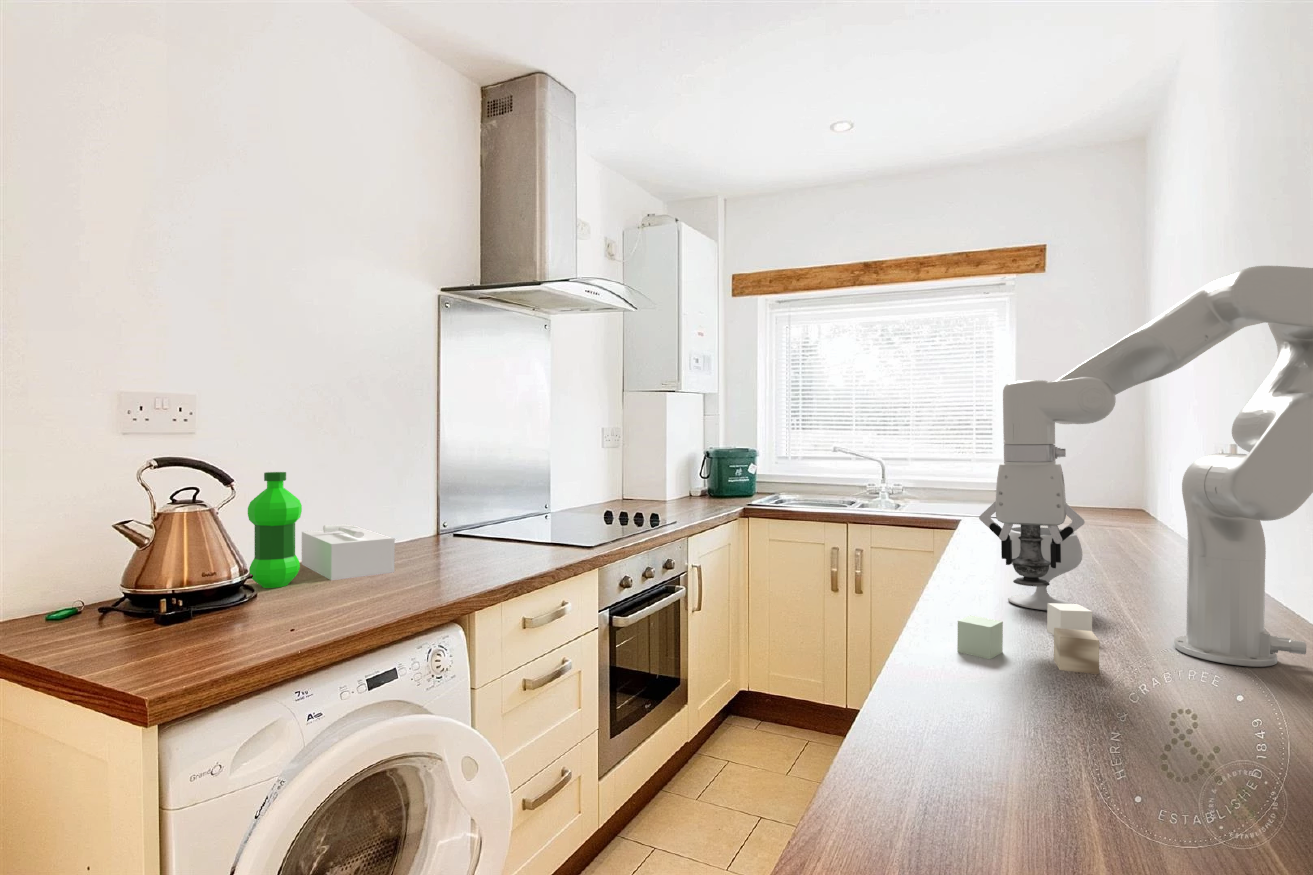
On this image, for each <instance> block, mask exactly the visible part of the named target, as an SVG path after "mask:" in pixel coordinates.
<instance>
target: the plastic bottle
mask: <svg viewBox="0 0 1313 875" xmlns="http://www.w3.org/2000/svg"><path fill="white" fill-rule="evenodd" d="M263 473H264V474H263V480H264V482H266V488H265V489H263V491H261V492H260V493H259V494H258V495H256V496H255V497H254V498H253V499H252V500H251V501H250V502H249V504H248V507H247V517H248V521H250V522H251V524H253V525H254V557H253V560H252V561H251V563H250V566H249V571H248V572H249V575H250V574H252V575H253V577H252V578H251V579H252V580H253V581H254V582H255V583H256V584H258V585H259V586H261V588H264V589H274V588H275V589H276V588H282V587H285V586H288V585H289V584H290V583H291V581H293V579H295V578H296V577H297V575H298V574H299V572H300V569H301V563H300V561H299V558H298V557H297V555H296V522H298V520H299V519H300V518H301V515H302V510H303V507H302V506H303V505H302V503H301V501H300V499H299V498H298V497H296V496H295V495H294V494H293V493H292V492H290V491H289V490H287V489H286V488H285V487H284V481H287V472H286V471H270V472H269V471H267V472H263Z"/></svg>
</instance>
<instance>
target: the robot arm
mask: <svg viewBox="0 0 1313 875" xmlns="http://www.w3.org/2000/svg"><path fill="white" fill-rule="evenodd" d="M1264 323H1265V324H1266V323H1267V326H1268V327H1269V330H1270V332H1271V334H1272V336H1273V339H1274V340H1275V344H1276V348H1277V357H1276V360H1275V362H1274V365H1273V366H1272V369H1270V371H1269V373H1268V374H1267V376H1266V377H1265V379H1264V380H1263V381H1262V383H1261V384H1259V386H1258V388H1257V389H1256V391H1255V392H1254V393H1253V394H1252V395H1251V397H1250V398H1249V400H1248V401H1247V402H1246V403H1245V405H1244V406H1243V407H1242V408H1241V409H1240V411H1239V412H1238V413H1237V415H1236V417H1235V419H1234V420H1233V423H1232V425H1231V437H1232V439H1233V441H1234V442H1235V443H1236V445H1237V446H1238V447H1239V448H1241V450H1242V449H1243V450H1244V451H1246V452H1248V453H1247V454H1245V453H1232V452H1231V453H1230V452H1229V453H1227V452H1226V453H1224V452H1222V453H1220V452H1217V453H1212V454H1208V455H1204V456H1202V457H1199V458H1198V459H1196V460H1195V461H1193V462H1191V464H1189V466H1188V467H1187V469H1186V470H1185V472H1184V474H1183V476H1182V482H1181V494H1182V500H1183V504H1184V511H1185V515H1186V524H1187V525H1186V527H1187V528H1186V529H1187V562H1186V565H1187V570H1186V573H1187V574H1186V576H1187V578H1186V635H1182V636H1178V637H1176V638H1174V642H1173V645H1174V648H1175V649H1176V650H1178V651H1179V652H1181V653H1183V654H1186V655H1189V656H1191V657H1193V658H1198V659H1201V660H1205V661H1209V662H1214V663H1219V664H1220V663H1221V664H1224V665H1225V664H1226V665H1231V666H1241V667H1252V668H1253V667H1254V668H1255V667H1259V668H1260V667H1261V668H1262V667H1270V666H1275V665H1276V664H1277V663H1278V655H1277V654H1278V653H1279V651H1280V652H1287V653H1290V654H1298V655H1306V654H1307V644H1306V641H1303V640H1297V639H1295V640H1294V639H1291V638H1290V637H1284V636H1277V635H1271V634H1270V633H1269V631H1268V630H1266V629H1265V606H1266V605H1265V601H1266V600H1265V599H1266V598H1265V597H1266V591H1265V590H1266V589H1265V588H1266V553H1267V551H1266V549H1267V548H1266V537H1265V533H1264V528H1263V525H1262V522H1261V521H1263V522H1264V521H1265V522H1266V521H1267V522H1269V521H1277V520H1281V519H1284V518H1286V517H1288V516H1290V515H1291V514H1293V513H1295V512H1296V511H1297V510H1298V509H1299V508H1300V507H1301V506H1303V504H1305V502H1306V501H1307V500H1308V499H1309V498H1310V496H1311V495H1312V494H1313V267H1304V266H1303V267H1301V266H1285V265H1258V266H1257V265H1256V266H1251V267H1246V268H1244V269H1240V270H1237V271H1236V272H1233V273H1230V274H1226V275H1224V276H1222V277H1218V278H1217V279H1214V280H1212V281H1210V282H1209V283H1206V284H1205V285H1203V286H1202V287H1200V288H1199V289H1196V290H1195V291H1194V292H1192V293H1191V294H1189V295H1188V296H1186V297H1185V298H1184V299H1182V300H1180V301H1179V302H1177V303H1176V304H1175V305H1173V306H1171V307H1170V308H1169V309H1167V310H1165V311H1164V312H1163V313H1161V314H1160V315H1158V316H1156V317H1155V318H1154V319H1152V320H1150V321H1149V322H1148V323H1146V324H1144V325H1142V326H1140V327H1139V328H1138V329H1136V330H1135V331H1133V332H1131V333H1129V334H1128V335H1126V336H1124V337H1123V338H1121V339H1120V340H1118V341H1116V343H1114V344H1111V345H1110V346H1109V347H1107V348H1105V349H1103V350H1102V351H1100V352H1099V353H1097V354H1095V355H1094V356H1092V357H1090V358H1089V359H1087V360H1085V361H1084V362H1082V363H1081V364H1078V365H1077V366H1076V367H1074V368H1073V369H1071V370H1070V371H1068V372H1067V373H1066V374H1064V375H1062V376H1061V377H1059V378H1058V379H1056V380H1051V381H1048V380H1043V379H1029V380H1017V381H1015V380H1014V381H1010V382H1008V383H1007V384H1005V385H1004V387H1003V389H1002V414H1003V415H1002V417H1003V418H1002V424H1003V425H1002V426H1003V429H1002V430H1003V463H1000V464H998V465H999V466H998V470H997V477H996V478H997V479H996V486H995V487H996V488H995V501H994V502H993V503H992V504H991V505H990V506H988V508H987V509H985V510H984V511H983V512H982V513H981V514H980V515H979V516H978V519H979V521H981V523H982V524H984V525H985V526H986V527H987V528H988V529H990V531H991V532H993V534H994V535H995V536H996V537H997V538H998V539H999V540H1000V543H1001V544H1000V545H1001V546H1000V547H1001V548H1000V549H1001V552H1000V553H1001V559H1002V560H1003V559H1004V560H1005V566H1006V565H1007V566H1011V565H1012V564H1011V563H1012V562H1011V560H1012V540H1010V536H1009V533H1010V531H1011V528H1013V526H1014V525H1020V526H1021V525H1040V527H1041V526H1042V527H1043V526H1044V527H1047V528H1048V529H1049V531H1050V533H1051V535H1052V537H1053V538H1052V542H1051V544H1050V552H1051V567H1052V568H1056V562H1057V563H1061V543H1062V541H1064V540H1065V539H1066V538H1067V537H1069V536H1070V535H1071V534H1072V533H1073V532H1074V533H1075V532H1076V531H1077V530H1078V529H1080V528H1081V527H1083V526H1084V525H1085V523H1086V522H1085V519H1084V518H1083V517H1082V516H1081V515H1080V514H1079V513H1078V512H1077V511H1075V510H1074V509H1073V508H1072V507H1071V506H1070V505H1069V504H1068V503H1067V500H1066V487H1065V479H1064V478H1065V477H1064V472H1063V468H1062V465H1061V463H1056V459H1060V458H1065V457H1067V455H1066V451H1067V450H1066V448H1061V447H1058V446H1056V424H1059V425H1089V424H1094V423H1097V422H1099V421H1102V420H1104V419H1106V418H1107V417H1108V416H1109V415H1110V414H1111V413H1112V411H1113V410H1114V409H1115V408H1114V407H1115V406H1116V402H1117V400H1116V396H1118V394H1121V393H1122V392H1124V391H1126V390H1128V389H1131V388H1132V387H1135V386H1137V385H1140V384H1143V383H1146V382H1149V381H1152V380H1153V381H1154V380H1155V379H1160V378H1162V377H1163V376H1166V375H1168V374H1171V373H1173V372H1175V371H1177V370H1179V369H1181V368H1183V367H1184V366H1186V365H1187V364H1189V363H1190V362H1192V361H1194V360H1195V359H1197V358H1198V357H1199V356H1200V355H1202V354H1203V353H1205V352H1207V351H1209V350H1210V349H1212V348H1213V347H1215V346H1216V345H1218V344H1220V343H1221V342H1223V341H1225V340H1226V339H1228V338H1229V337H1230V336H1232V335H1234V334H1235V333H1237V332H1238V331H1241V330H1242V329H1244V328H1247V327H1252V326H1255V325H1260V324H1264ZM993 514H995V518H996V520H997V521H998V522H1000V523H1002V524H1003V526H1002V527H1001V526H1000V524H998V523H996V522H995V521H994V520H993V519H992V516H993ZM1067 517H1068V518H1069V519H1070V520H1071V522H1070V523H1069V524H1068V525H1066V526H1065V527H1064V528H1063V529H1062V530H1061V531H1060V530H1059V529H1060V528H1059V526H1060V525H1063V524H1064V523H1065V520H1066V518H1067Z"/></svg>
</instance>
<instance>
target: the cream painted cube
mask: <svg viewBox="0 0 1313 875" xmlns="http://www.w3.org/2000/svg"><path fill="white" fill-rule="evenodd" d="M1046 612H1047V614H1046V616H1047V617H1046V619H1047V620H1046V623H1047V626H1046V627H1047V628H1046V632H1047V633H1049V634H1051V635H1052V636H1054V628H1063V629H1074V630H1085V631H1092V632H1093V611H1092V610H1090V609H1088V608H1086V607H1085V606H1082V605H1080V604H1078V603H1073V604H1058V603H1047V610H1046Z"/></svg>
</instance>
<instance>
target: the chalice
mask: <svg viewBox="0 0 1313 875" xmlns="http://www.w3.org/2000/svg"><path fill="white" fill-rule="evenodd" d="M1059 530H1060V531H1061V530H1063V529H1060V528H1059ZM1009 536H1010V540H1012V559H1015V558H1017V557H1018V556H1019V554H1020V539H1019V538H1018V537H1020V536H1021V526H1019V527H1018V526H1015V527H1012V528H1011V531H1010V533H1009ZM1040 537H1041V538H1043V540H1042V541H1041V552H1042V556H1043V558H1044V559H1045V560H1047V561H1050V562H1051V552H1050V544H1051V542H1052V538H1053V537H1052V535H1051V533H1050V531H1049V529H1048V527H1040ZM1082 560H1083V548H1082V546H1081V541H1080V538H1079V537H1078V535H1077V534H1076V533H1075V531H1074V532H1073V533H1072V534H1071V535H1070V536H1069V537H1067V538H1066V539H1065V540H1064V541H1062V543H1061V563H1057V562H1056V568H1052V567H1051V565H1049V570H1048V572H1047V574H1046V575H1045V576H1043V577H1039V579H1043V580H1046V581H1047V582H1048V583H1049V584H1050V582H1051V581H1052V580H1054V579H1056V578H1057V577H1059V576H1062V575H1064V574H1066V573H1068V572H1070V571H1072V570H1075V569H1076V568H1078V566H1080V564H1081V563H1082ZM1010 565H1012V566H1013V562H1012V563H1011V564H1010ZM1047 587H1048V586H1041V587H1036V589H1035V592H1033V594H1019V595H1013V596H1012V595H1011V596H1009V598H1007V601H1008V602H1009V603H1011V604H1013V605H1016V606H1018V607H1023V608H1027V609H1032V610H1040V611H1047V603H1058V604H1074V602H1071V601H1069V600H1065V599H1062V598H1058V597H1054V596H1050V594H1049V592H1048V591H1047V590H1048V589H1047Z"/></svg>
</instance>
